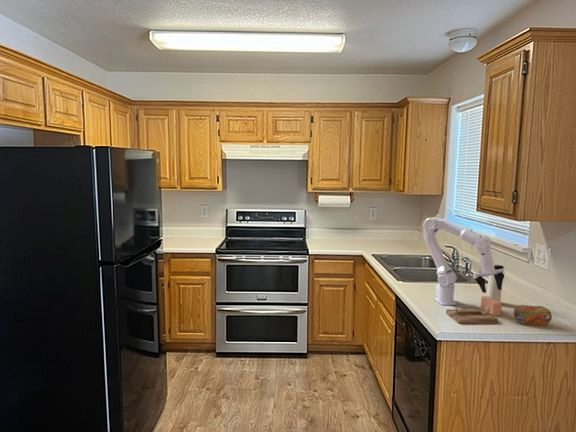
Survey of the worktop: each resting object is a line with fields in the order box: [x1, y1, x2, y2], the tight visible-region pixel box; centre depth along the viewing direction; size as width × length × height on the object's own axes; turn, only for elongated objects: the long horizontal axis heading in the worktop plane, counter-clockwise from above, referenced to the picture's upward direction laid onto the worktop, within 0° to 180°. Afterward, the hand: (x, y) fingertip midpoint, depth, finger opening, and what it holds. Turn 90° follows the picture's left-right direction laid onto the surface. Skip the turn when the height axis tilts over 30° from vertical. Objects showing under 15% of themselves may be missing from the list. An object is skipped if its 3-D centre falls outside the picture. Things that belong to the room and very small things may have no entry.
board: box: [445, 307, 499, 325], centre depth 186 cm, size 12×18×5 cm, turn 95°
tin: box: [513, 304, 553, 327], centre depth 181 cm, size 15×3×8 cm, turn 81°
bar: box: [480, 295, 503, 317], centre depth 195 cm, size 10×4×6 cm, turn 5°
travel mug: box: [486, 264, 505, 303], centre depth 207 cm, size 6×7×20 cm
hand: (492, 291), depth 191 cm, fingers open, 7 cm apart
